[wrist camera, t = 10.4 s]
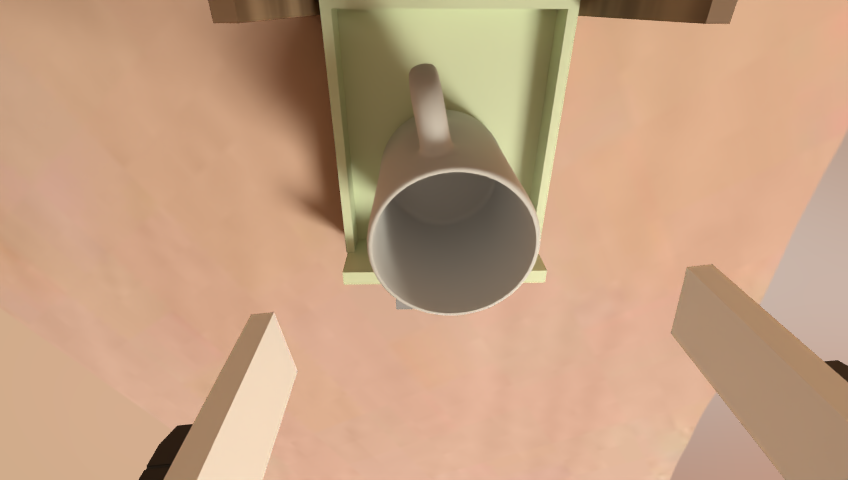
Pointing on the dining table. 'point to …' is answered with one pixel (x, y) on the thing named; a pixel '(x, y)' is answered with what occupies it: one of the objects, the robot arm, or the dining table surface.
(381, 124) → the tray
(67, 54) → the dining table surface
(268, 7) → the cubby
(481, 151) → the mug
